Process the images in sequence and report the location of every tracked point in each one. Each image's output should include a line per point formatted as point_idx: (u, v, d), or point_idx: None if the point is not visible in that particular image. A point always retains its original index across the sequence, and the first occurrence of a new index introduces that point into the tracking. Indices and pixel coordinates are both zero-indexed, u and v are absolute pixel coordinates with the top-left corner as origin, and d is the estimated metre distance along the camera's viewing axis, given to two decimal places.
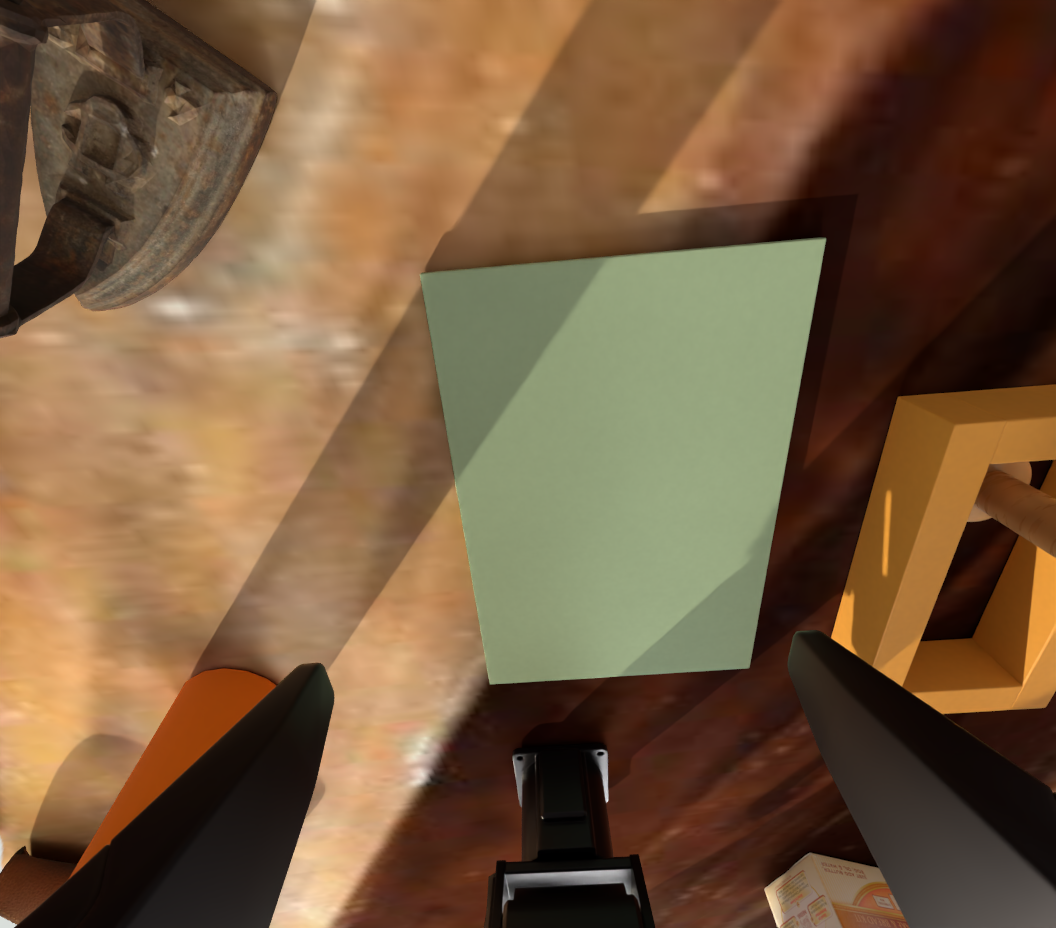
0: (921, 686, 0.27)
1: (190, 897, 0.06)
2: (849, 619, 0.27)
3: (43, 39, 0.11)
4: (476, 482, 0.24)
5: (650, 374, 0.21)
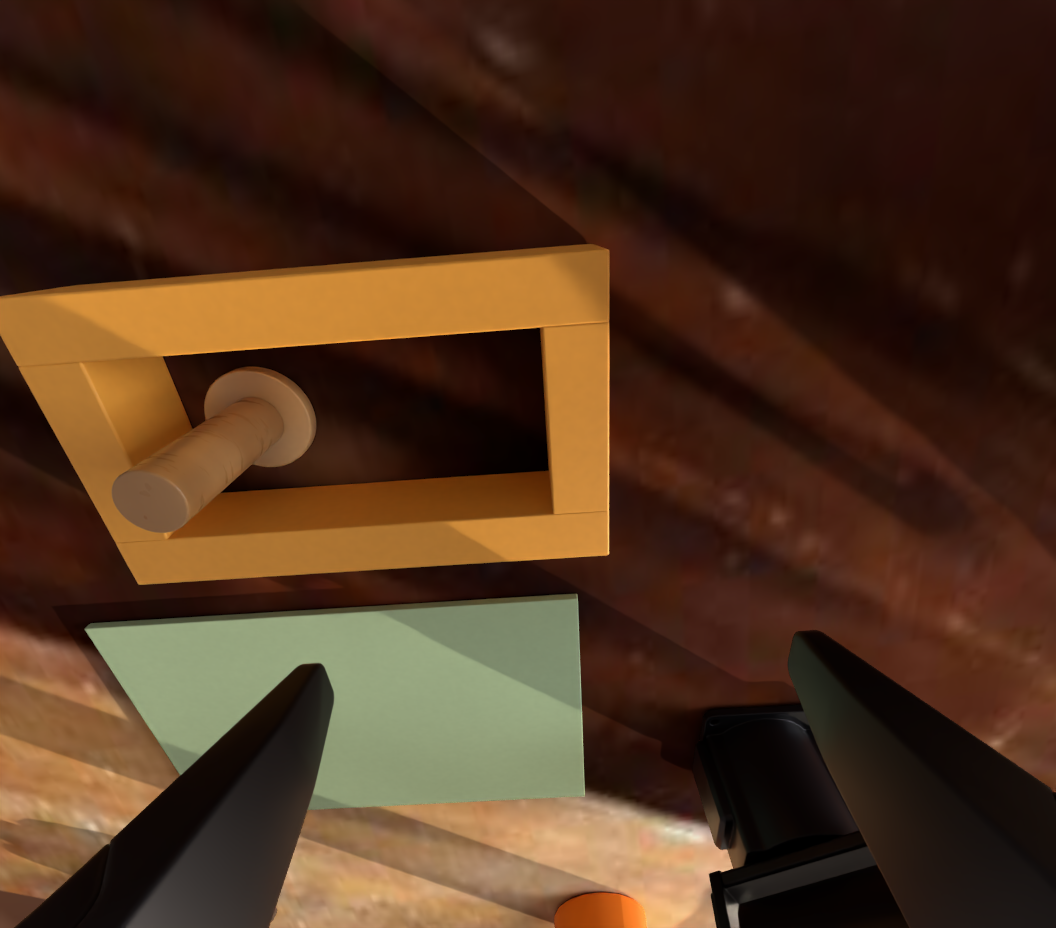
0: (550, 474, 0.17)
1: (190, 897, 0.06)
2: None
3: None
4: (352, 797, 0.30)
5: (230, 713, 0.26)
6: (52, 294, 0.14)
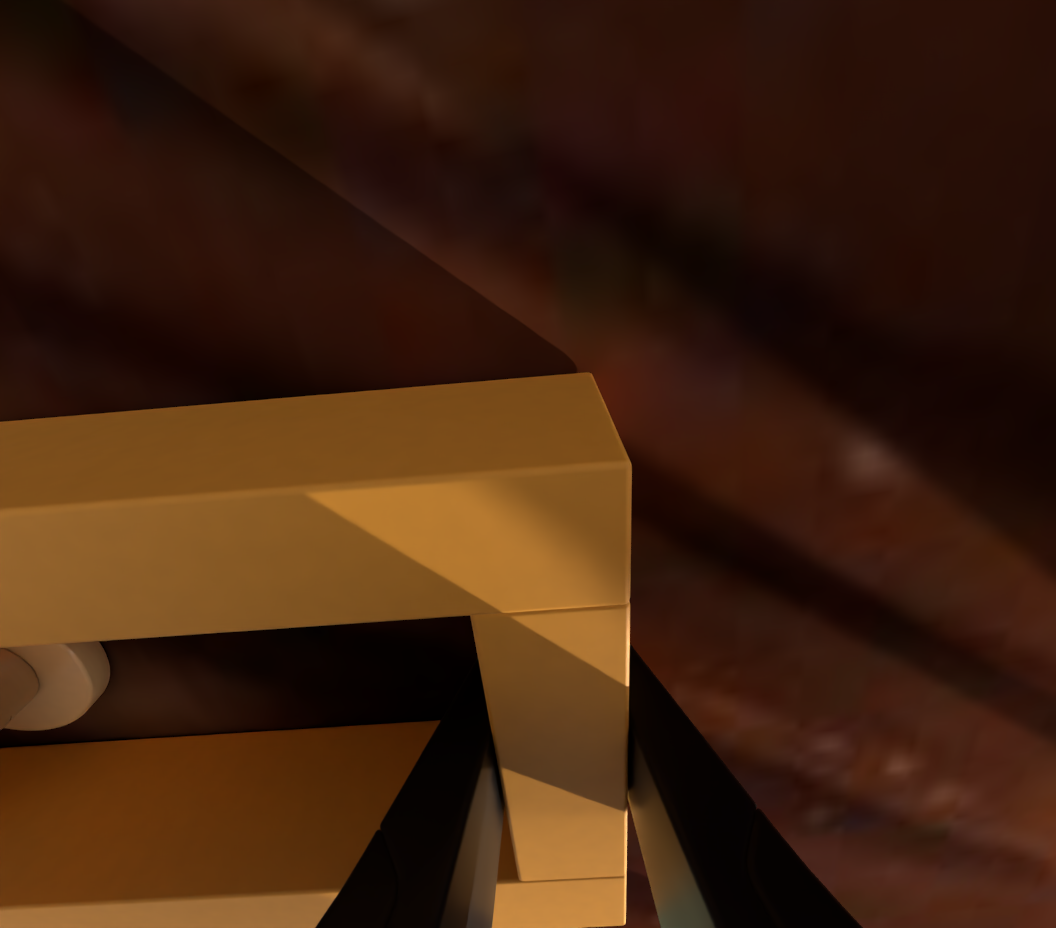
0: None
1: (464, 883, 0.06)
2: None
3: None
4: None
5: None
6: None
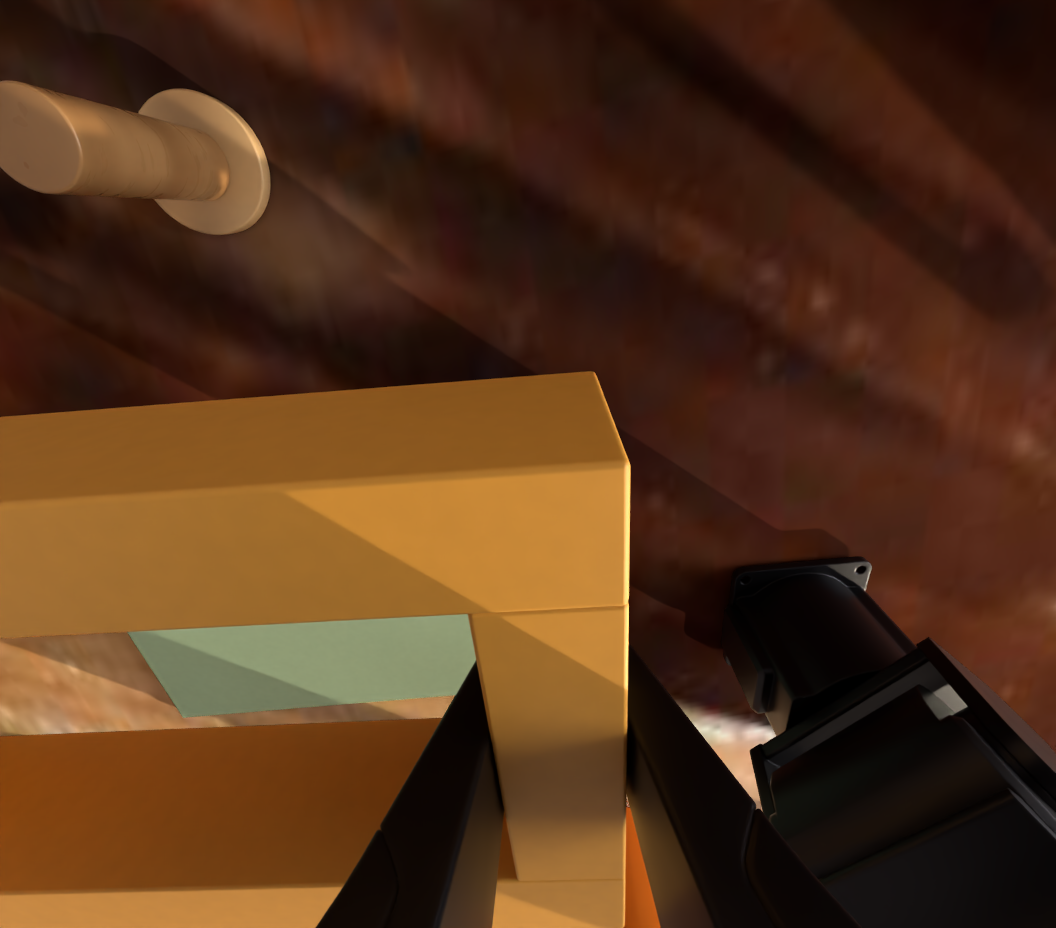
0: None
1: (464, 883, 0.06)
2: None
3: None
4: (343, 691, 0.27)
5: None
6: None
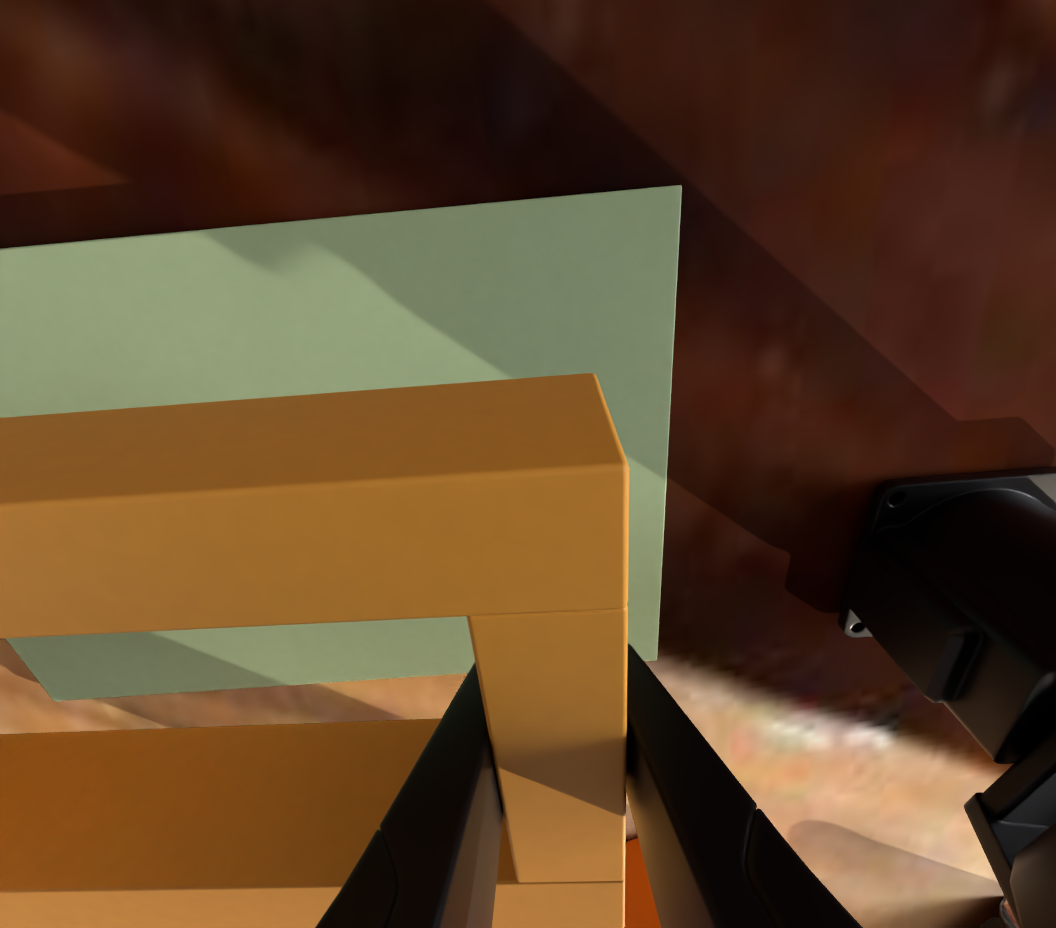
0: None
1: (464, 883, 0.06)
2: None
3: None
4: (283, 666, 0.19)
5: None
6: None
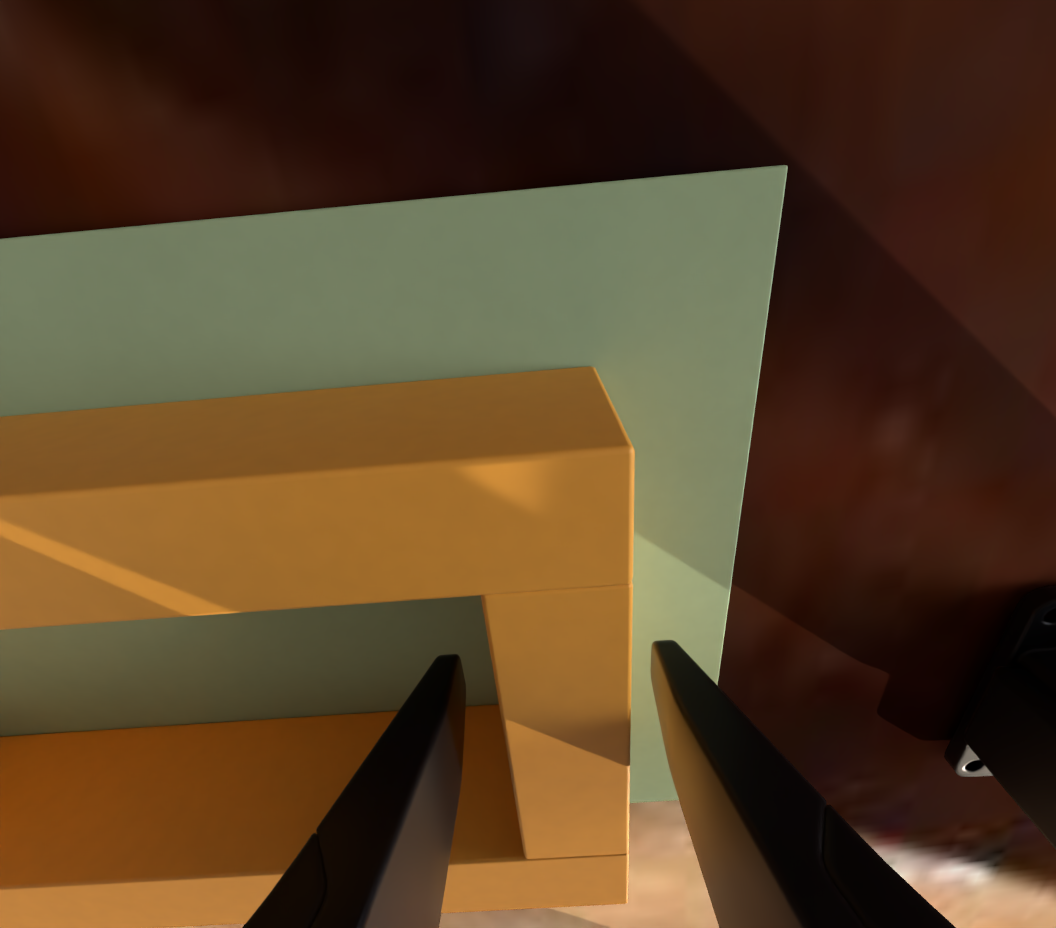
0: None
1: (399, 886, 0.06)
2: None
3: None
4: None
5: None
6: None
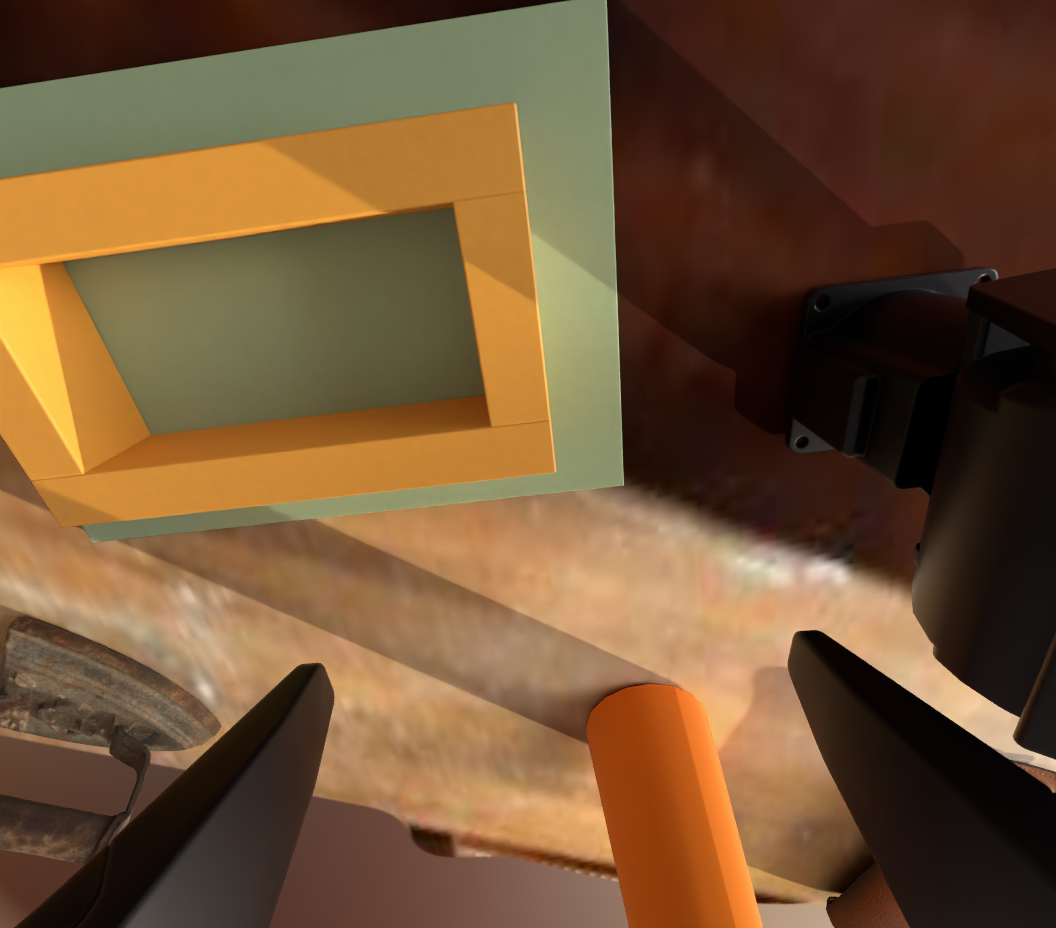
0: None
1: (190, 897, 0.06)
2: None
3: None
4: None
5: None
6: None
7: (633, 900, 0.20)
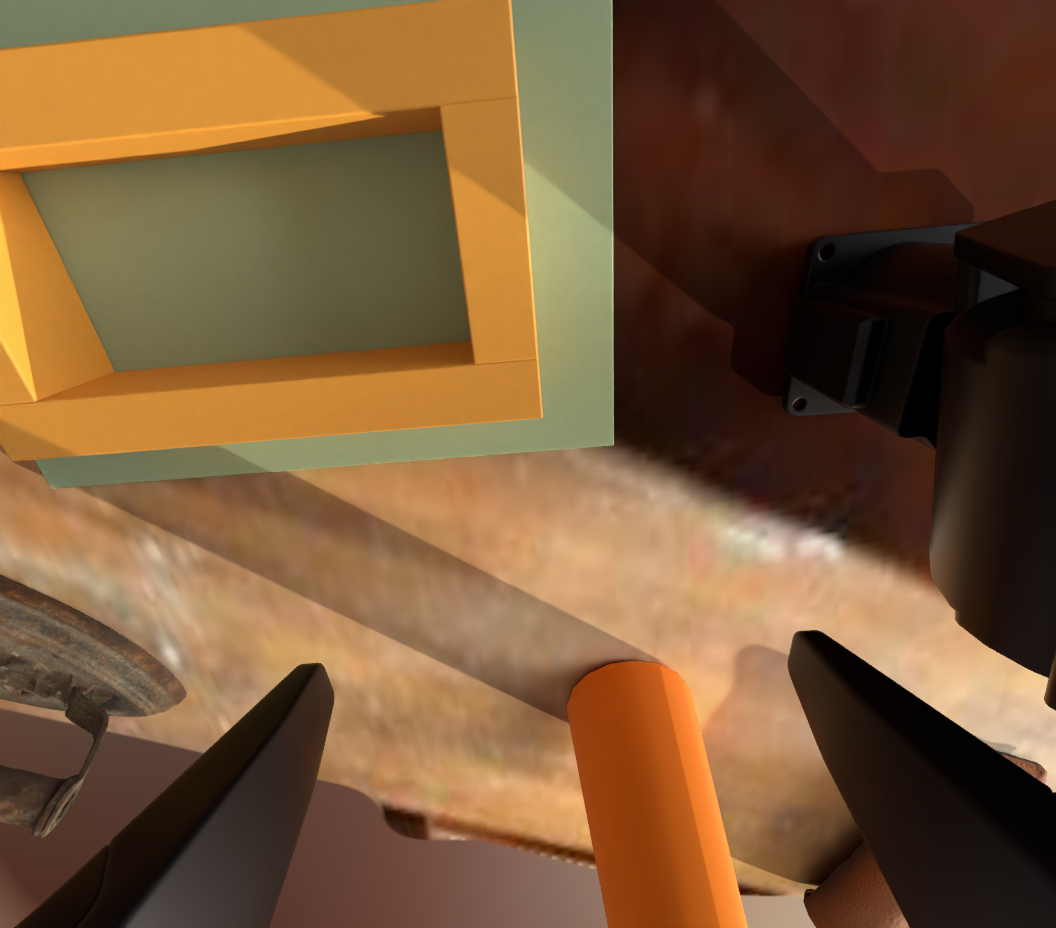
0: None
1: (190, 897, 0.06)
2: None
3: None
4: (264, 449, 0.20)
5: None
6: None
7: (609, 876, 0.19)
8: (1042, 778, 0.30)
